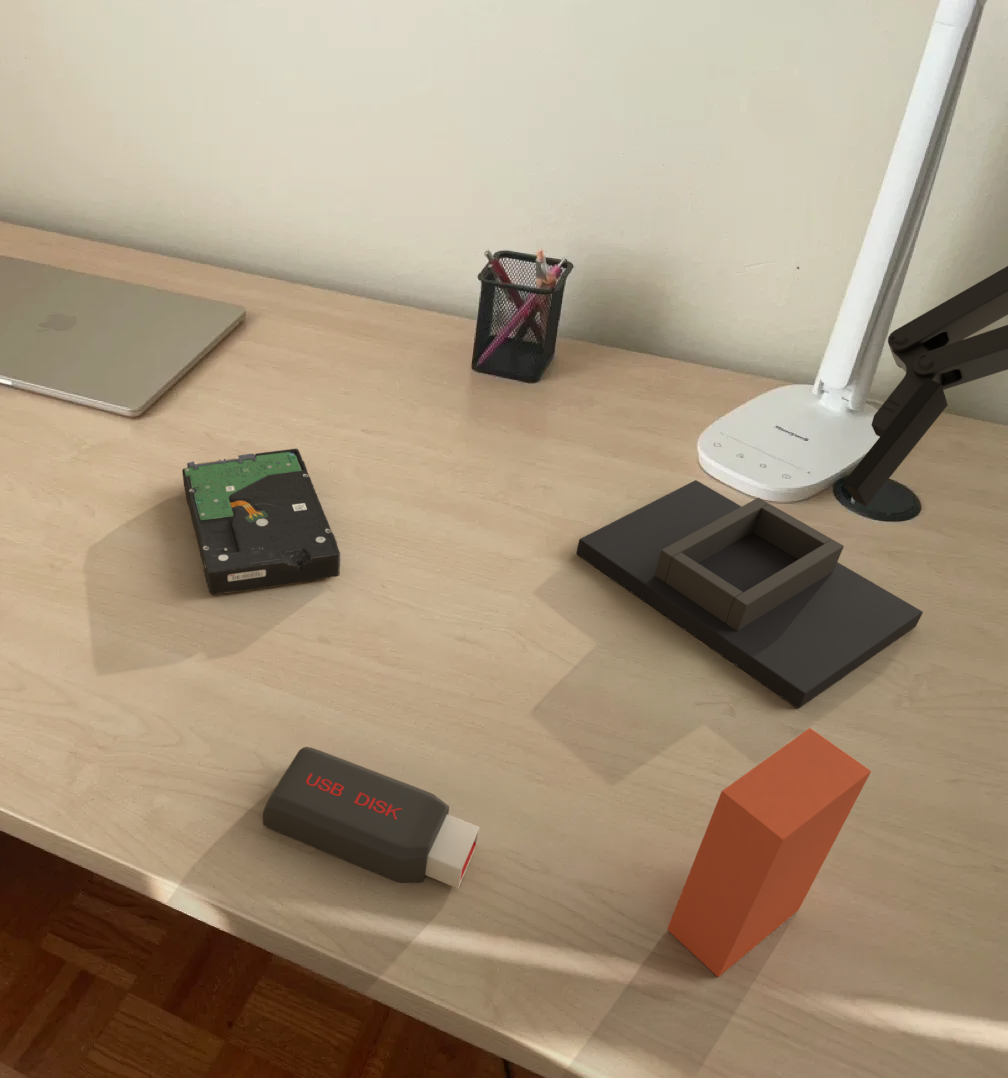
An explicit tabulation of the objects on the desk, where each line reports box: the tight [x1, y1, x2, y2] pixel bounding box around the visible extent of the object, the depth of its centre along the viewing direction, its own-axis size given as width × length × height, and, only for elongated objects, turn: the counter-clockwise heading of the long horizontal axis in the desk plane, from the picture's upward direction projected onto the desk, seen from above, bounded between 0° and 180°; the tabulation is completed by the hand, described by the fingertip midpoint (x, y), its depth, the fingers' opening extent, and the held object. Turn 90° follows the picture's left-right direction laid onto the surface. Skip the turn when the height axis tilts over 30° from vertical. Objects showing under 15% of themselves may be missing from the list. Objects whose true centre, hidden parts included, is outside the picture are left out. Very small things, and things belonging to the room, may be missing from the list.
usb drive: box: [262, 746, 481, 889], centre depth 62 cm, size 5×12×3 cm, turn 63°
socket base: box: [575, 479, 924, 709], centre depth 79 cm, size 20×14×4 cm
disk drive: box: [181, 448, 341, 596], centre depth 85 cm, size 10×3×15 cm
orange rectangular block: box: [667, 727, 872, 978], centre depth 55 cm, size 3×7×12 cm, turn 125°
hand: (984, 564), depth 51 cm, fingers open, 13 cm apart
